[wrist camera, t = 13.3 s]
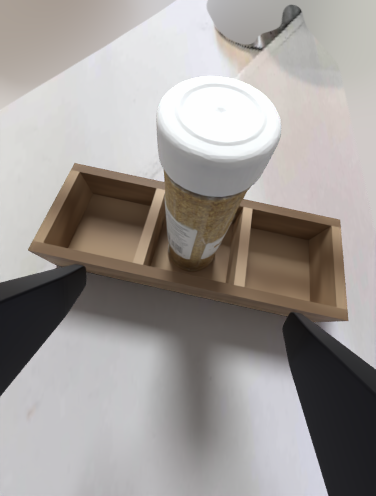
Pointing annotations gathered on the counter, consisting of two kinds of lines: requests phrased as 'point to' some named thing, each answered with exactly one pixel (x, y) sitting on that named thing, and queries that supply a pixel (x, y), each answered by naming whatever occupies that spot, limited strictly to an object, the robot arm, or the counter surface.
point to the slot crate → (226, 256)
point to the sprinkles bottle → (210, 160)
